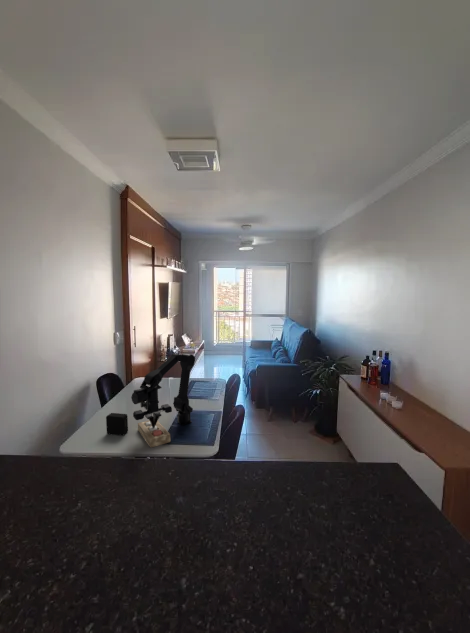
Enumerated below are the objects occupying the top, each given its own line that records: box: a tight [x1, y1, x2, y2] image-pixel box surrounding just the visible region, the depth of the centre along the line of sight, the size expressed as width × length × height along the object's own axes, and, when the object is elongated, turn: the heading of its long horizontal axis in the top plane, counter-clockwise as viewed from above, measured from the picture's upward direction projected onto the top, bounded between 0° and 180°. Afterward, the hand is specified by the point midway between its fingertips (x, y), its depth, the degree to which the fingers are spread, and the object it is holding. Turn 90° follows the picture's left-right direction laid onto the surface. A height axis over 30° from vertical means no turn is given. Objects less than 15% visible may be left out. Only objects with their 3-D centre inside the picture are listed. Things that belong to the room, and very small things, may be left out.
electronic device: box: [105, 412, 129, 436], centre depth 158 cm, size 4×10×10 cm, turn 79°
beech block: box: [137, 419, 171, 448], centre depth 154 cm, size 10×22×4 cm, turn 33°
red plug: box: [153, 429, 162, 437], centre depth 149 cm, size 4×4×4 cm
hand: (153, 427), depth 154 cm, fingers closed, pressing on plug
